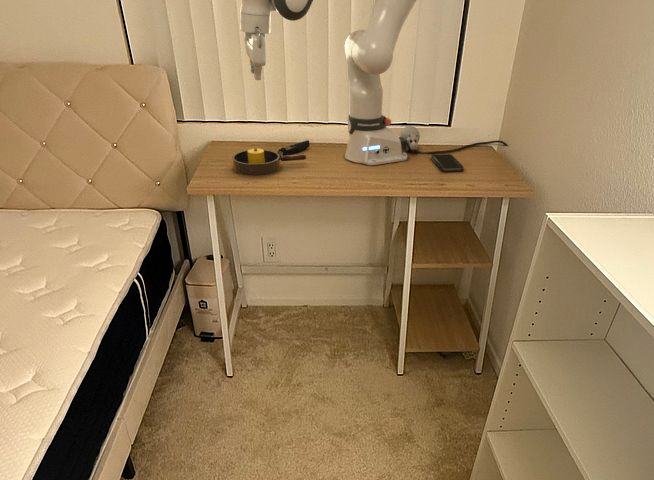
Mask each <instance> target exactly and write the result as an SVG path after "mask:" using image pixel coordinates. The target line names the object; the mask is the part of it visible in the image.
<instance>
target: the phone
mask: <svg viewBox="0 0 654 480" xmlns="http://www.w3.org/2000/svg"><path fill="white" fill-rule="evenodd" d="M430 155H431V156H430V160H431V161H432V162H433V163H434V165H435V166H436V167H437V168H438V169H439V170H440V171H441V172H442V173H456V172H457V173H458V172H459V173H460V172H464V166H463V164H461V163H460V161H459V160H458V159H456V157H455V156H454V155H453V154H449V153H441V154H430Z"/></svg>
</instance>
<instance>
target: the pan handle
mask: <svg viewBox="0 0 654 480" xmlns="http://www.w3.org/2000/svg"><path fill="white" fill-rule="evenodd" d="M305 160H307V155H306V154H305V153H304V154H303V153H301V154H290V155H286V156H281V157H280V162H295V161H305Z"/></svg>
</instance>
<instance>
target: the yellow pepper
mask: <svg viewBox="0 0 654 480" xmlns="http://www.w3.org/2000/svg"><path fill="white" fill-rule="evenodd" d="M247 150H248V162H249V164H261V163H265V158H264V150H265V149H263V148H258V147H254V148H250V149H247Z"/></svg>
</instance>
